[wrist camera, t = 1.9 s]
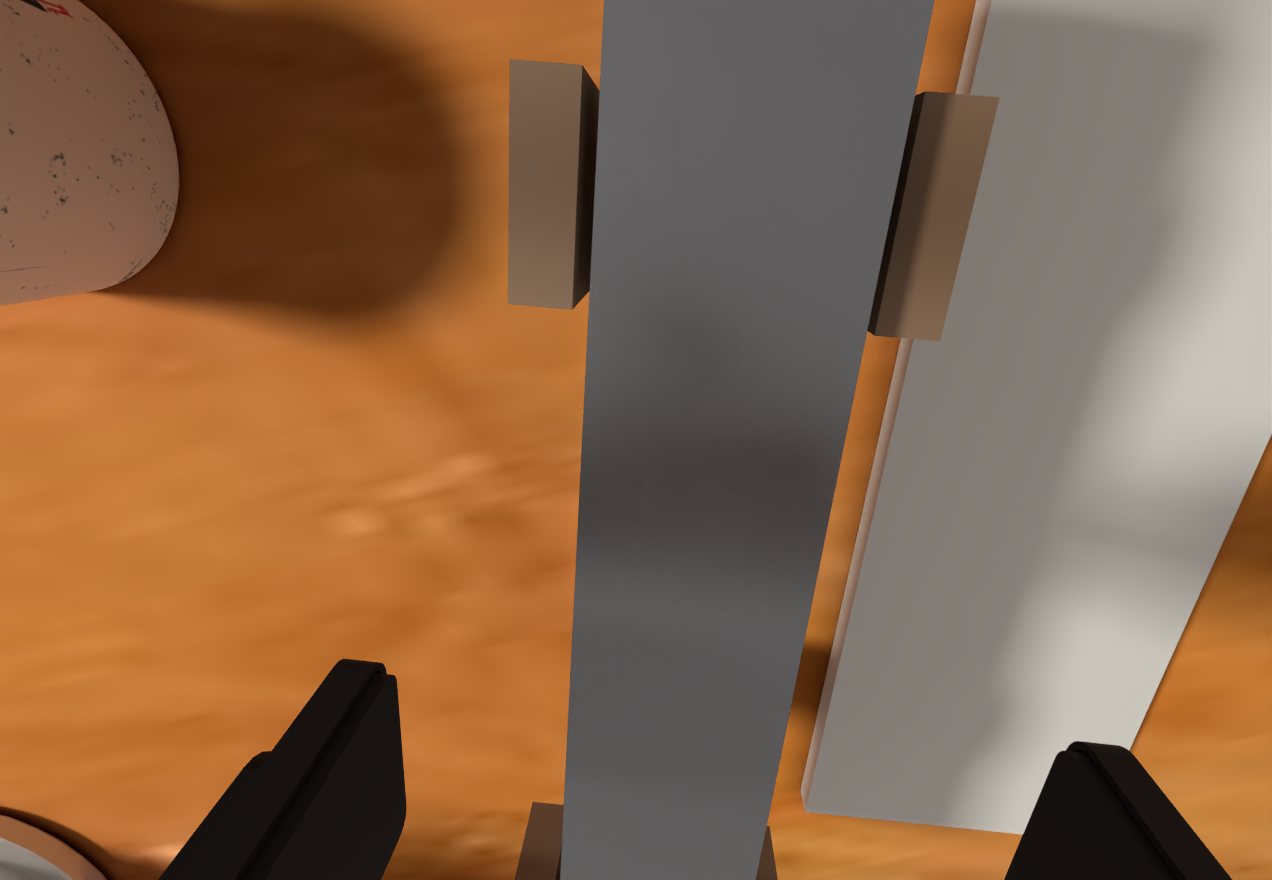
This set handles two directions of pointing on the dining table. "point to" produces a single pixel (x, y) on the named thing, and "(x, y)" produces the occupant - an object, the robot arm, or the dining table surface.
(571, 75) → the rack
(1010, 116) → the mat
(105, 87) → the teacup with lid
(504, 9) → the dining table surface
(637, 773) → the rail
